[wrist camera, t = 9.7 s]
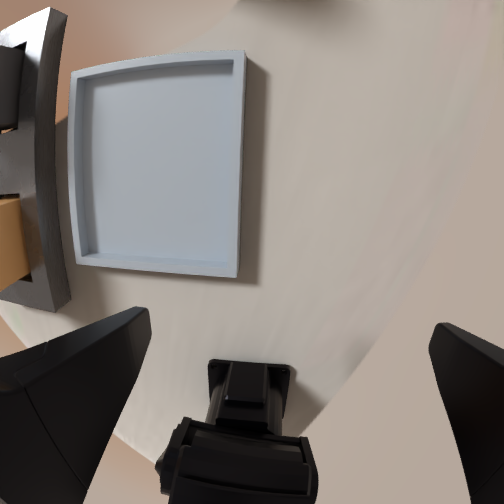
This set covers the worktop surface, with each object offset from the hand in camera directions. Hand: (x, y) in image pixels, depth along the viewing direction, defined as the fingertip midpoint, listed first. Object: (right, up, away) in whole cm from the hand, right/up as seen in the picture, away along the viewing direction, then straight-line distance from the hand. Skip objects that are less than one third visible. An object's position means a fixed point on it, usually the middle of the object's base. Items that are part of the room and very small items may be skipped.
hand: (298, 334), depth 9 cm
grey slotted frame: (-21, +10, +11) cm, 26 cm away
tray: (-8, +8, +11) cm, 16 cm away
